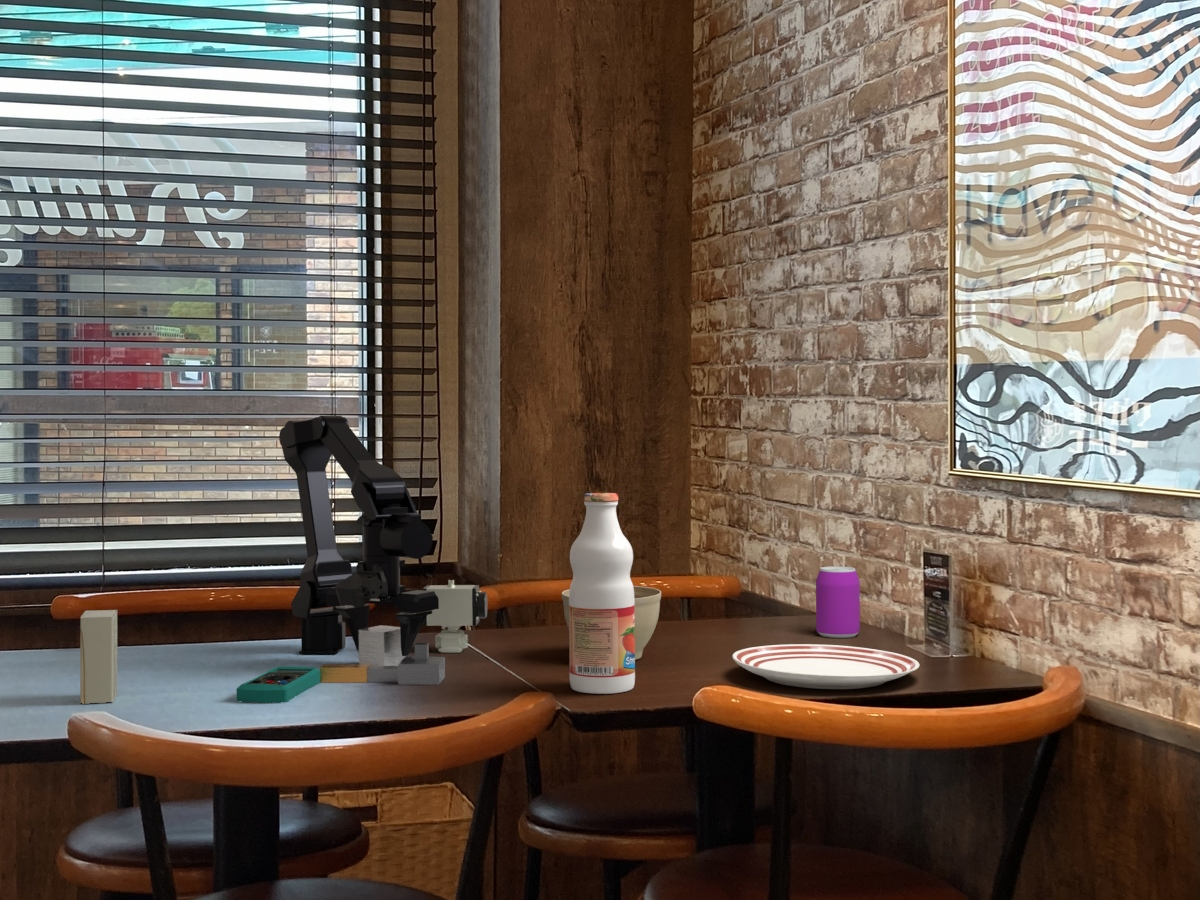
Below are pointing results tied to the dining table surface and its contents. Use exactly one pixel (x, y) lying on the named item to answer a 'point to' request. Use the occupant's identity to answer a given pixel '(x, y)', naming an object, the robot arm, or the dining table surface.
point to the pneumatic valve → (456, 614)
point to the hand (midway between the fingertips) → (382, 653)
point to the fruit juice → (601, 602)
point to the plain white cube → (380, 646)
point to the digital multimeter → (278, 684)
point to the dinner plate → (824, 665)
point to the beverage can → (837, 602)
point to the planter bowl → (636, 614)
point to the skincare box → (98, 656)
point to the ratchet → (391, 670)
